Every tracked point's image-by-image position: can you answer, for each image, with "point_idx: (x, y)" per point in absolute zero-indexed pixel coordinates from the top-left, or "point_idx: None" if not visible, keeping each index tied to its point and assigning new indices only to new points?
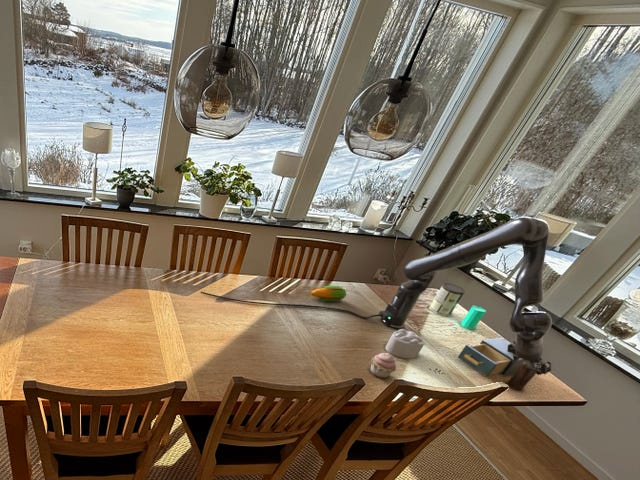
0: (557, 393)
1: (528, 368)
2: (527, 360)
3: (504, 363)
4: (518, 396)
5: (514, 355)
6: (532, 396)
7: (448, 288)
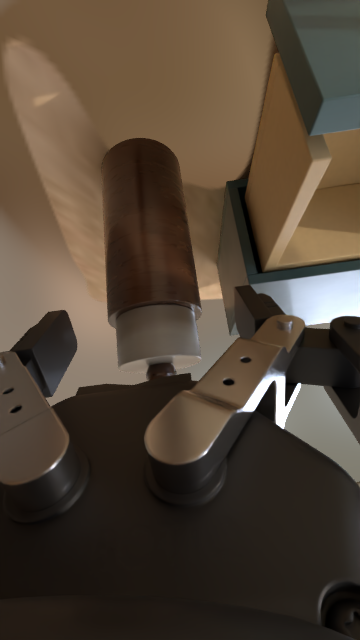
0: (105, 287)
1: (136, 303)
2: (32, 454)
3: (273, 224)
4: (30, 109)
5: (274, 329)
6: (61, 202)
7: None
